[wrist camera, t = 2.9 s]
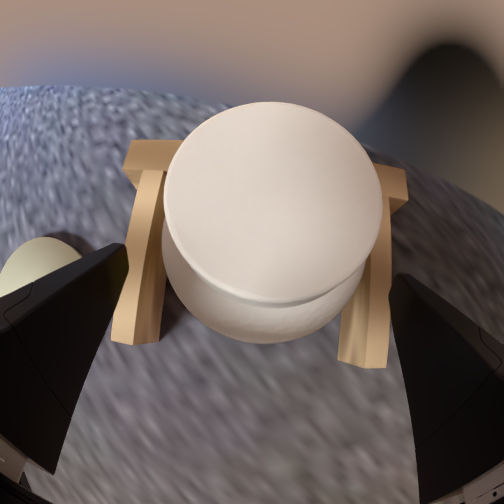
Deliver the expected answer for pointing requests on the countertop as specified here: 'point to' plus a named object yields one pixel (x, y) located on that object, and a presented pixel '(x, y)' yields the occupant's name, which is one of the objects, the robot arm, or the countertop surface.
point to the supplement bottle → (269, 221)
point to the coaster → (35, 262)
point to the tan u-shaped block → (154, 273)
